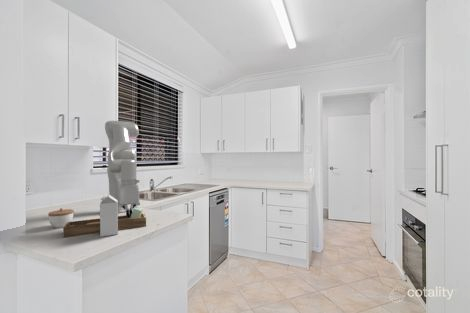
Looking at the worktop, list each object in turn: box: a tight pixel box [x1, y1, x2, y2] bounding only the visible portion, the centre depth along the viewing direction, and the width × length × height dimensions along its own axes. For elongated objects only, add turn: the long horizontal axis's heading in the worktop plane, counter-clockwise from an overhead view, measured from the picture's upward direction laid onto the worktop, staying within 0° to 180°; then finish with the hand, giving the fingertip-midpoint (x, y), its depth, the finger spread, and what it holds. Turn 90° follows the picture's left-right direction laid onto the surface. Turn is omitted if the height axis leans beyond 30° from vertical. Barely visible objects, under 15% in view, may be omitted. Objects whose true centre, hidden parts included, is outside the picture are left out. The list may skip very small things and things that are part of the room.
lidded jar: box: [47, 208, 74, 229], centre depth 120 cm, size 11×11×9 cm
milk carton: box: [99, 193, 119, 238], centre depth 107 cm, size 7×7×19 cm
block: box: [130, 206, 144, 219], centre depth 121 cm, size 4×4×5 cm
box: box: [62, 212, 147, 238], centre depth 115 cm, size 10×35×4 cm, turn 116°
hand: (129, 217), depth 121 cm, fingers closed
